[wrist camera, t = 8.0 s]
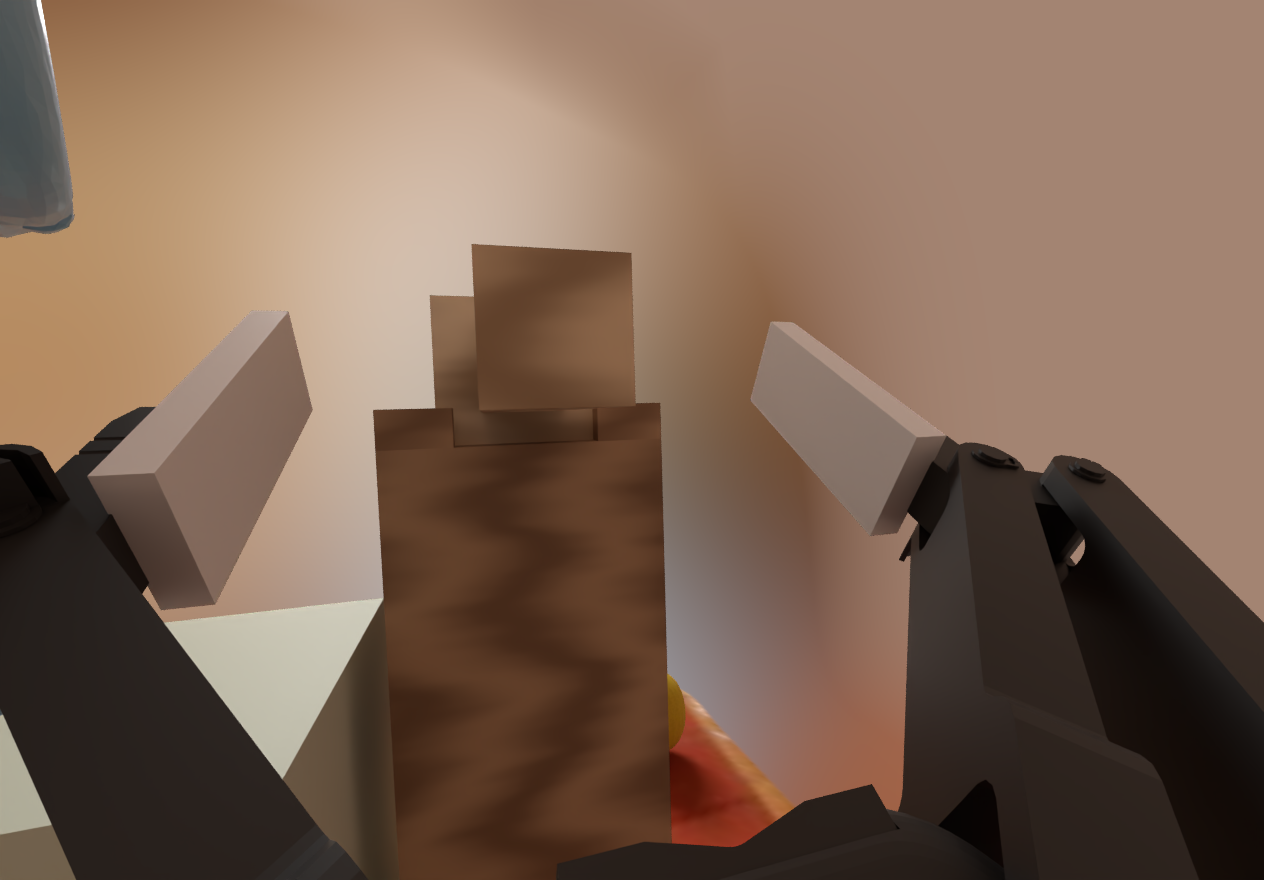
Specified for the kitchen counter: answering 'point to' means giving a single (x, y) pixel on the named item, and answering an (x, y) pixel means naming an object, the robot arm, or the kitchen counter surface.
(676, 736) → the lemon
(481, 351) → the mallet
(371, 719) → the sage block
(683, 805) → the kitchen counter surface
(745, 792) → the kitchen counter surface
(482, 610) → the walnut stand
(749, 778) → the kitchen counter surface
